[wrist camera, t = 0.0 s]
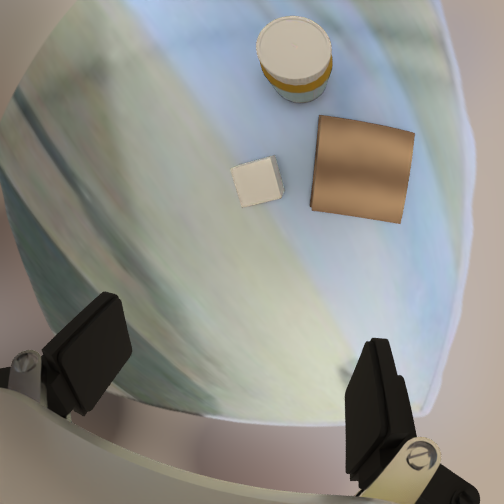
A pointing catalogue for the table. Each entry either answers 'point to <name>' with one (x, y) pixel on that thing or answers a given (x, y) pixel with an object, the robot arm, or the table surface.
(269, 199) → the stone cube
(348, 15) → the table surface
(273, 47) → the bottle
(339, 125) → the plinth
